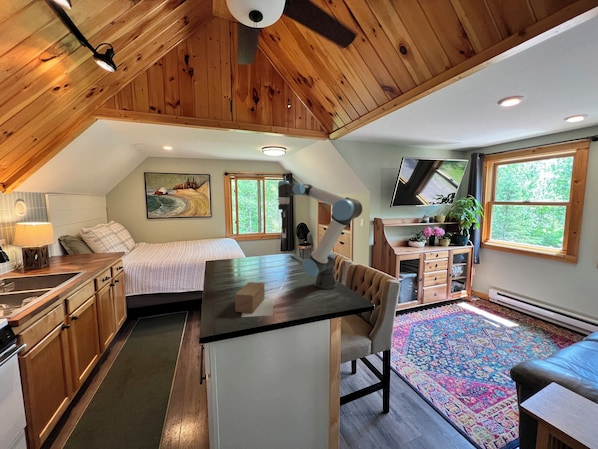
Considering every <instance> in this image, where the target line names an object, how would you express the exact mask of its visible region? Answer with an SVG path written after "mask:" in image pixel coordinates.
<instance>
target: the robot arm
mask: <svg viewBox="0 0 598 449" xmlns="http://www.w3.org/2000/svg"><path fill="white" fill-rule="evenodd" d="M277 184H278V185H277V190H278V192H277V193H278V194H277V195H278V198H277V201H278V202H277V203H278V205H277V207H278V210H279V211H280V210H281V212H280V218H281V227H280V229H281V238H282V239H286V238H287V218H288V217H287V215H288V213H287V211H288V210H290V196H307V197H309V198H312V199H315V200H316V201H319V202H322V203H324V204H326V205H329V206H331V212H332V213H331V215H330V218H331V221H330V222H329V224H328V227H327V228H326V230H325V232H324V234H323V236H322V237H321V239H320V242H318V245H317V247H316V248H315V250H313V251H311V253H310V255H309V257H308V258H306V259H305V260H303V262H302V269H303V272H304V273H305V274H306V276H308V277H311V278H314V277H315V279H314V287H316V288H318V289H322V290H328V289H329V290H330V289H331V288H332V289H334V288H337V279H336V276H335V259H336V258H335V254H334V253H332V250H333V249H334V247H335V245H336V243H337V241H338V239H339V238H340V236H341V235H342V232H343V230H344V229H345V227H348V226H350V224H351V221H353V220H354V219H356V218H359V217H360V216H361V215H362V213H363V204H362V203H361V201H359V200H357V199H354V198H350V197H347V196H345V197H342V196H341V195H337V194H336V193H332V192H329V191H326V190H325V189H322V188H318V187H315V186H314V185H312V184H307V183H305V184H304V183H301V182H299V183H298V182H296V183H290V181H289V180H279V181H278V183H277ZM286 210H287V211H286Z"/></svg>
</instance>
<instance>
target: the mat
mask: <svg viewBox="0 0 598 449" xmlns="http://www.w3.org/2000/svg"><path fill="white" fill-rule="evenodd" d="M268 316H269V317H270V316H271V317H272V316H273V317H274V298H264V300H263V301H262V302H261V304H260V305H259V306H258V307H257V308H256V310H255V311H254V312H253V313H243V312H241V318H249V317H250V318H251V317H253V318H254V317H268Z"/></svg>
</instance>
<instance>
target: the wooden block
mask: <svg viewBox="0 0 598 449" xmlns="http://www.w3.org/2000/svg"><path fill="white" fill-rule="evenodd" d="M234 294H235V295H234V307H235V308H234V310H235V312H236V313H242V312H243V313H253V312H254V311H255V310H256V308H257V307H258V306H259V305H260V304H261V302H262V301H263V300H264V299H266V298H265V283H264V282H253V281H250V282H248V283H245V285H243V287H242V288H240V289H239V290H238V291H237V292H236V293H234Z"/></svg>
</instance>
